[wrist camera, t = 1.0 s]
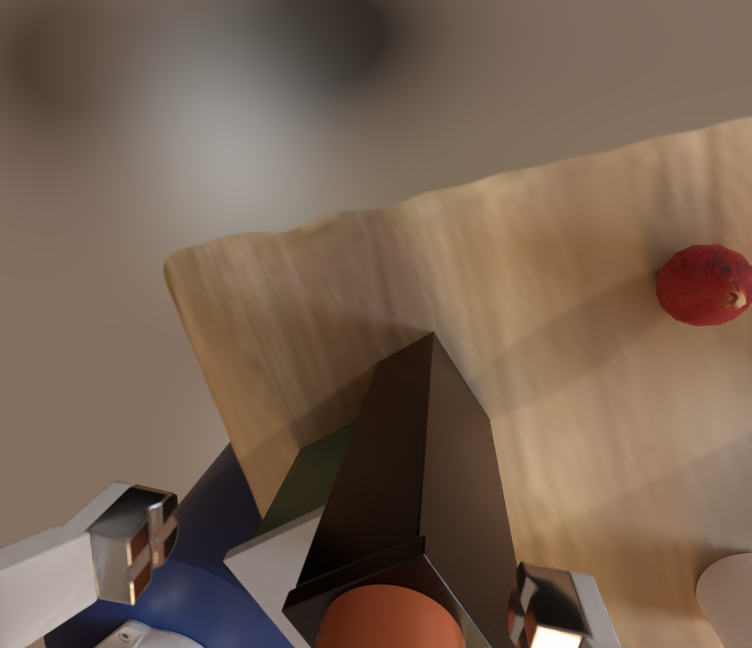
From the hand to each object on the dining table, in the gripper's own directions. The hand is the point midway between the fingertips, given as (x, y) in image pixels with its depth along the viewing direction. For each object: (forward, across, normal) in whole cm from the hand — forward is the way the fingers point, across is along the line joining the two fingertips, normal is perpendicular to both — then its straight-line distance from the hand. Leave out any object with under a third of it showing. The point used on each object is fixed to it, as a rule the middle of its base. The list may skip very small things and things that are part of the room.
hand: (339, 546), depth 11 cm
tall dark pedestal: (+31, +3, -10) cm, 32 cm away
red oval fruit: (+31, +21, +3) cm, 37 cm away
